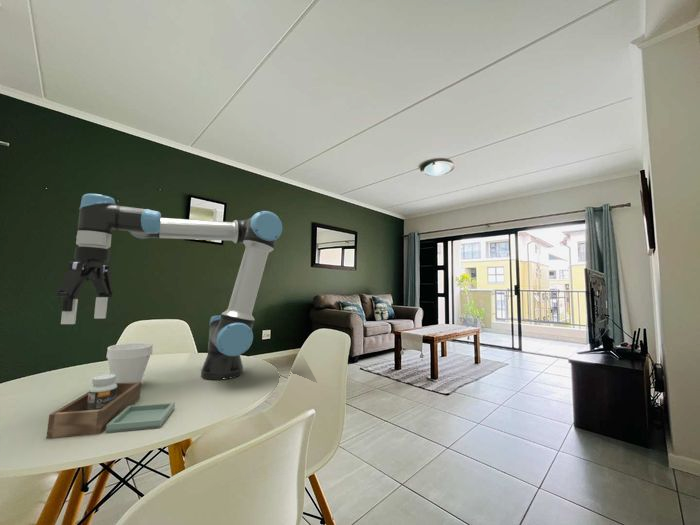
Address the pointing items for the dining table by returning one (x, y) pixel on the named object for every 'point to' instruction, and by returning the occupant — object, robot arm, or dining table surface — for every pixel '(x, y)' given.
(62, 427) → the caddy
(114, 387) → the pill bottle
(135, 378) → the white flower pot
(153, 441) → the dining table surface
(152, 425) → the tray
